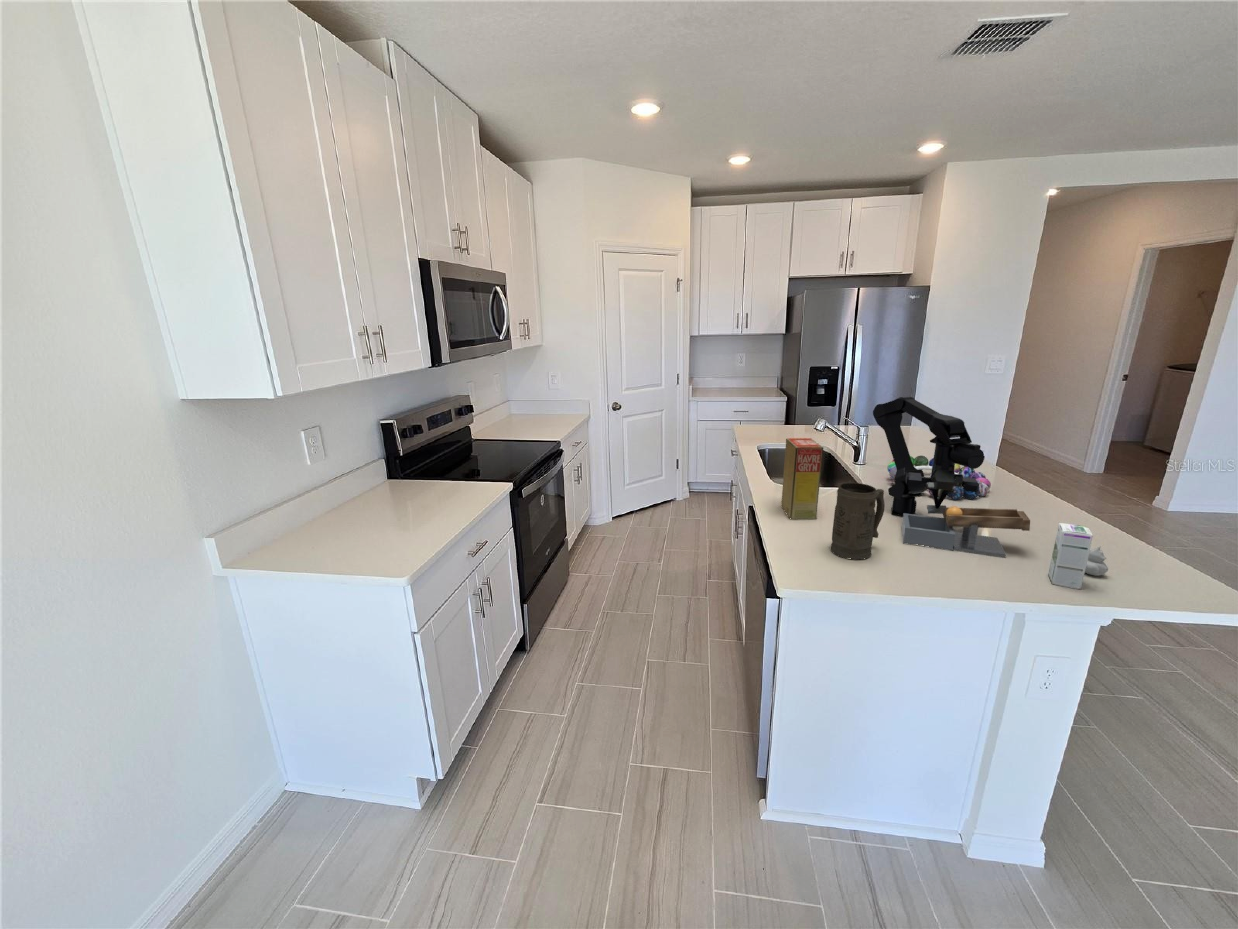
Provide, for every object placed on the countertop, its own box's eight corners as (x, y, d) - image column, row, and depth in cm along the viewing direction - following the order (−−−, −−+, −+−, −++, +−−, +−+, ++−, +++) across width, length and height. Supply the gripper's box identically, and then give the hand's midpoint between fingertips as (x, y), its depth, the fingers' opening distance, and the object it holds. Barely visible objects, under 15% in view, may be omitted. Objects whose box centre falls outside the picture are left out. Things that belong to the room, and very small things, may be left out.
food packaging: (818, 519, 168) (824, 447, 161) (789, 519, 168) (794, 447, 162) (806, 505, 181) (811, 437, 174) (779, 505, 181) (784, 437, 174)
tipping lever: (931, 526, 147) (931, 515, 146) (927, 508, 161) (927, 497, 160) (1029, 530, 136) (1030, 518, 136) (1015, 510, 150) (1016, 499, 149)
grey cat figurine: (1103, 581, 125) (1111, 552, 123) (1068, 571, 130) (1075, 543, 128) (1108, 574, 128) (1115, 545, 126) (1074, 565, 134) (1081, 537, 131)
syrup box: (1081, 590, 122) (1095, 534, 118) (1050, 584, 125) (1062, 530, 121) (1076, 579, 126) (1090, 526, 122) (1046, 574, 129) (1058, 521, 125)
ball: (943, 516, 146) (953, 506, 144) (942, 512, 150) (951, 502, 148) (956, 525, 145) (966, 514, 143) (954, 520, 149) (964, 510, 147)
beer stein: (851, 564, 137) (863, 494, 132) (820, 549, 147) (829, 483, 142) (888, 554, 144) (900, 488, 139) (855, 541, 154) (865, 478, 149)
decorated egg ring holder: (988, 520, 175) (996, 498, 172) (879, 496, 192) (884, 474, 188) (983, 485, 203) (990, 465, 200) (888, 466, 219) (893, 447, 216)
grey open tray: (903, 543, 149) (905, 527, 148) (901, 527, 160) (903, 513, 158) (952, 550, 144) (955, 534, 142) (947, 534, 154) (949, 518, 153)
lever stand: (953, 550, 144) (958, 524, 141) (948, 534, 154) (952, 509, 152) (1005, 557, 138) (1010, 531, 136) (996, 540, 149) (1001, 515, 147)
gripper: (910, 463, 150) (903, 512, 154) (986, 470, 142) (977, 521, 146) (908, 454, 159) (902, 500, 164) (979, 460, 151) (971, 508, 156)
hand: (936, 507), depth 157 cm, fingers closed, pressing on tipping lever
